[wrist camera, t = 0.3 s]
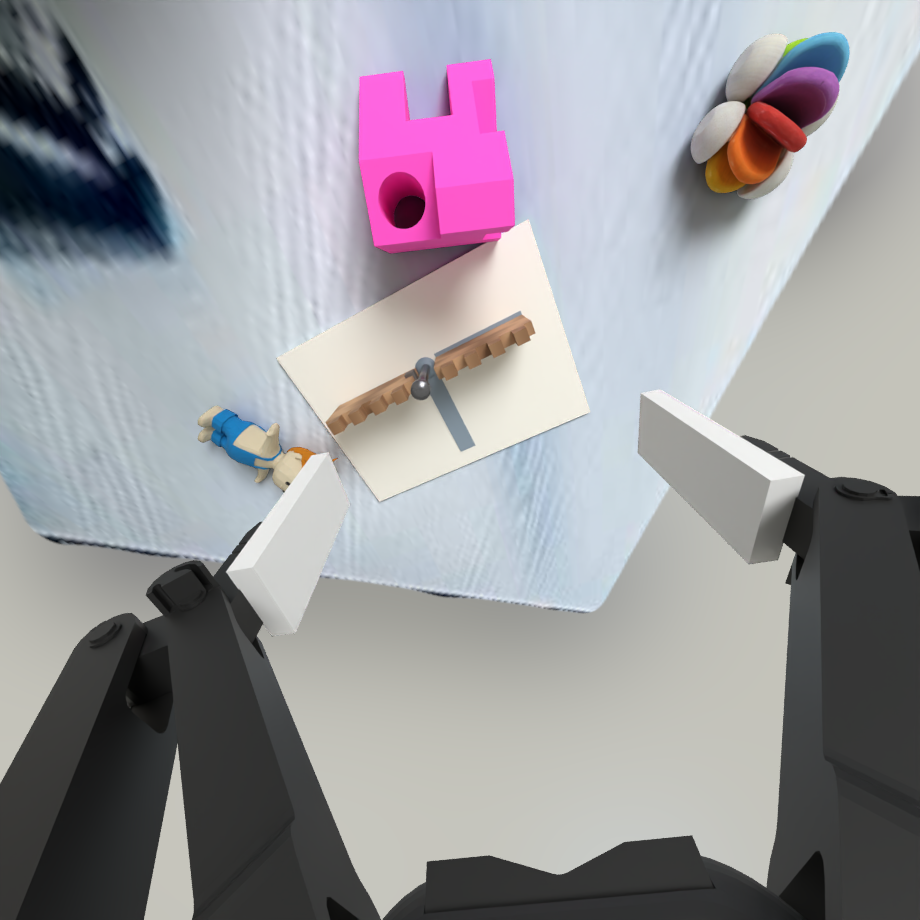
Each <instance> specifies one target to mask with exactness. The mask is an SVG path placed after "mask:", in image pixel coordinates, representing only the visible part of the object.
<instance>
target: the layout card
mask: <svg viewBox="0 0 920 920" xmlns="http://www.w3.org/2000/svg"><path fill="white" fill-rule="evenodd" d="M520 315H523V316H525V317H526V318H528V319H529V320H531V322H532V324H533V327H534V330H535V334H533V335H531V336H530V339H531V341H529V342H526V343H524V344H522V345H520V346H518V345H517V344H516V343H515V344H513V345H510V346H508V347H506V348H504V349H505V351H506V353H504V354H502V355H499V356H497V357H495V358H493V356H492V355H490V356H488V357H486V358H484V359H481V363H482V364H481V365H479V366H477V367H475V368H472V369H469V367H468V366H467V367H465V368H463V369H461V370H459V371H458V376H456V377H454V378H452V379H450V380H447V381H446V379H445V377H444V378H442V379H440V380H439V378H438V376H437V374H436V372H435V370H434V364H435V358H436V357H437V356H439V355H441V354H443V353H445V352H447V351H449V350H451V349H453V348H455V347H458V346H460V345H462V344H464V343H466V342H468V341H470V340H472V339H474V338H476V337H478V336H480V335H482V334H484V333H486V332H488V331H490V330H492V329H494V328H496V327H498V326H500V325H502V324H504V323H506V322H508V321H510V320H512V319H514V318H516V317H518V316H520ZM276 359H277V360H278V361H279V363H280V364H281V366H282V367H283V368H284V370H285V371H286V373H287V374H288V375H289V377H290V378H291V379H292V381H293V382H294V384H295V385H296V386H297V388H298V389H299V391H300V392H301V393H302V395H303V396H304V398H305V399H306V400H307V402H308V403H309V404H310V406H311V407H312V409H313V410H314V411H315V413H316V414H317V416H318V417H319V418H320V420H321V421H322V423H323V424H324V425H325V427H326V428H327V429H328V431H329V432H330V434H331V435H332V436H333V438H334V439H335V441H336V442H337V443H338V445H339V446H340V448H341V449H342V450H343V452H344V453H345V454H346V456H347V457H348V459H349V460H350V461H351V463H352V464H353V466H354V467H355V468H356V470H357V471H358V473H359V474H360V475H361V477H362V478H363V480H364V481H365V482H366V484H367V485H368V486H369V488H370V489H371V491H372V492H373V493H374V495H375V496H376V498H377V499H378V500H379V502H380V501H382V500H385V499H387V498H390V497H392V496H394V495H397V494H399V493H401V492H404V491H406V490H408V489H411V488H413V487H415V486H418V485H420V484H422V483H425V482H427V481H429V480H432V479H434V478H436V477H439V476H441V475H443V474H446V473H448V472H451V471H453V470H455V469H458V468H460V467H462V466H465V465H467V464H469V463H472V462H474V461H476V460H479V459H481V458H483V457H486V456H488V455H490V454H493V453H495V452H497V451H500V450H502V449H504V448H507V447H509V446H511V445H514V444H516V443H519V442H521V441H523V440H526V439H528V438H530V437H533V436H535V435H537V434H540V433H542V432H544V431H547V430H549V429H551V428H554V427H556V426H558V425H561V424H563V423H565V422H568V421H570V420H572V419H575V418H577V417H580V416H582V415H584V414H587V413H589V412H590V409H589V406H588V403H587V400H586V397H585V394H584V390H583V387H582V384H581V381H580V378H579V375H578V372H577V369H576V366H575V362H574V359H573V356H572V353H571V350H570V347H569V344H568V341H567V337H566V334H565V331H564V328H563V325H562V322H561V319H560V316H559V312H558V309H557V306H556V303H555V300H554V297H553V294H552V291H551V287H550V284H549V281H548V278H547V275H546V272H545V269H544V266H543V263H542V259H541V256H540V253H539V250H538V247H537V244H536V241H535V238H534V234H533V231H532V228H531V225H530V222H529V219H528V220H526V221H524V222H523V223H521V224H519V225H517V226H515V227H514V228H512V229H510V230H509V231H508V232H504V233H503V234H501V239H499V240H498V241H492V242H486V243H484V244H483V245H481V246H479V247H477V248H475V249H474V250H472V251H470V252H468V253H466V254H464V255H463V256H461V257H459V258H457V259H455V260H454V261H452V262H450V263H448V264H446V265H444V266H443V267H441V268H439V269H437V270H435V271H434V272H432V273H430V274H428V275H426V276H425V277H423V278H421V279H419V280H417V281H415V282H414V283H412V284H410V285H408V286H406V287H405V288H403V289H401V290H399V291H397V292H395V293H394V294H392V295H390V296H388V297H386V298H385V299H383V300H381V301H379V302H377V303H375V304H374V305H372V306H370V307H368V308H366V309H365V310H363V311H361V312H359V313H357V314H355V315H354V316H352V317H350V318H348V319H346V320H345V321H343V322H341V323H339V324H337V325H335V326H334V327H332V328H330V329H328V330H326V331H325V332H323V333H321V334H319V335H317V336H315V337H314V338H312V339H310V340H308V341H306V342H305V343H303V344H301V345H299V346H297V347H295V348H294V349H292V350H290V351H288V352H286V353H285V354H283V355H281V356H279V357H277V358H276ZM424 364H428V365H429V366H430V368H431V370H430V374H429V379H428V383H429V384H430V387H431V392H430V395H429V397H428V398H427V399H425V400H417V399H415V398H414V397H413V396H412V394H410V395H409V398H408V400H407V401H405V402H403V403H401V404H399V405H396V403H395V402H394V403H392V404H390V405H388V408H387V410H386V411H384V412H382V413H380V414H378V415H376V416H375V414H374V413H371V414H369V415H368V416H367V418H366V420H365V421H363V422H361V423H359V424H357V425H355V426H354V424H353V423H350V424H348V426H347V427H346V429H345V430H344V431H343V432H341V433H338V434H336V435H333V433H332V432H331V430H330V429H329V428H328V426H327V424H326V423H325V422H326V421H327V420H328V419H329V417H330V416H331V415H332V414H333V412H334V411H335V410H336V409H337V407H338V406H340V405H342V404H344V403H346V402H348V401H350V400H352V399H354V398H356V397H358V396H360V395H362V394H364V393H366V392H368V391H370V390H372V389H374V388H376V387H378V386H380V385H382V384H384V383H386V382H388V381H390V380H392V379H394V378H396V377H398V376H400V375H402V374H404V373H406V372H408V371H410V370H412V369H414V368H416V370H417V372H418V374H420V371H421V368H422V365H424Z"/></svg>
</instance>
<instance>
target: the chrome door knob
mask: <svg viewBox="0 0 920 920" xmlns="http://www.w3.org/2000/svg"><path fill="white" fill-rule="evenodd" d="M430 370H431V368H430V366H429V365H428V364H424V365H422V368H421V371H420V374H419V378H418V380H415V381H414V382H413V383H412V386H411V390H410V391H411V394H412V396H413V397H414V398H415V399H417V400H425V399H427V398H428V397H429V395H430V392H431V387H430V384H429V383H428V379H429V374H430Z"/></svg>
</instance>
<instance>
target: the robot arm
mask: <svg viewBox="0 0 920 920" xmlns="http://www.w3.org/2000/svg"><path fill="white" fill-rule="evenodd" d="M638 454H639V455H640V456H641V457H642V458H643V459H644V460H645V461H646V462H647V463H648V464H649V465H650V466H651V467H652V468H653V469H654V470H655V471H656V472H657V473H658V474H659V475H660V476H661V477H662V478H663V479H664V480H665V481H666V482H667V483H668V484H669V485H670V486H671V487H672V488H673V489H674V490H675V491H676V492H677V493H678V494H679V495H680V496H681V497H682V498H683V499H684V500H685V501H686V502H687V503H688V504H689V505H690V506H691V507H692V508H693V509H694V510H695V511H696V512H697V513H698V514H699V515H700V516H701V517H702V518H703V519H704V520H705V521H706V522H707V523H708V524H709V525H710V526H711V527H712V528H713V529H714V530H715V531H716V532H717V533H718V534H719V535H720V536H721V537H722V538H723V539H724V540H725V541H726V542H727V543H728V544H729V545H730V546H731V547H732V548H733V549H734V550H735V551H736V552H737V553H738V554H739V555H740V556H741V557H742V558H743V559H744V560H745V561H746V562H747V563H748V564H754V563H761V562H768V561H774V560H778V558H779V555H780V552H781V549H782V546H783V543H785V544H786V545H787V546H789V547H790V548H791V549H792V550H793V551H794V552H796V554H795V557H794V560H793V563H792V566H791V569H790V571H789V574H788V577H787V580H786V584H789V585H791V595H790V613H789V631H788V648H787V664H786V682H785V699H784V716H783V734H782V751H781V752H782V753H781V769H780V785H779V787H780V788H779V804H778V820H777V821H778V822H777V831H776V837H775V842H774V846H773V850H772V854H771V858H770V865H769V871H768V879H767V888H766V887H764V886H763V885H761V884H759V883H758V882H757V881H755V880H754V879H752V878H750V877H749V876H747V875H745V874H743V873H741V872H739V871H737V870H736V869H734V868H732V867H730V866H727V865H725V864H723V863H720V862H718V861H715V860H713V859H710V858H707V857H703V856H700V853H699V851H698V848H697V846H696V844H695V841H694V839H693V837H692V836H682V837H672V838H662V839H652V840H641V841H631V842H624V843H622V844H620V845H618V846H616V847H614V848H613V849H611V850H609V851H607V852H605V853H604V854H601V855H600V856H598V857H596V858H594V859H592V860H590V861H588V862H586V863H584V864H583V865H581V866H579V867H577V868H575V869H573V870H571V871H569V872H568V873H565V874H562V875H556V874H551V873H548V872H545V871H541V870H537V869H534V868H531V867H527V866H524V865H520V864H517V863H513V862H510V861H506V860H503V859H500V858H496V857H493V856H480V857H469V858H459V859H449V860H439V861H429V862H427V872H426V882H425V883H423V884H422V885H419V886H418V887H417V888H415V889H414V890H413V891H412V892H410V893H409V894H407V895H406V896H404V897H403V898H402V899H401V900H400V901H399V902H398V903H397V904H396V905H395V906H394V907H393V908H392V909H391V910H390V911H389V912H388V914H387V915H386V916H385V917H384V918H383V920H920V496H897V494H896V493H895V492H893V491H892V490H890V489H888V488H887V487H885V486H882V485H880V484H877V483H874V482H871V481H867V480H862V479H857V478H846V477H837V478H829V477H827V476H825V475H823V474H822V473H820V472H818V471H816V470H815V469H813V468H811V467H809V466H807V465H806V464H804V463H802V462H800V461H798V460H797V459H795V458H790V455H788V454H786V453H784V452H782V451H778V449H777V448H775V447H774V446H772V445H770V444H768V443H766V442H765V441H762V440H758V439H755V438H752V437H749V436H746V435H745V436H738V435H736V434H735V433H733V432H731V431H729V430H728V429H726V428H724V427H722V426H721V425H719V424H718V423H716V422H714V421H713V420H711V419H709V418H708V417H706V416H704V415H703V414H701V413H699V412H697V411H696V410H694V409H692V408H691V407H689V406H687V405H686V404H684V403H682V402H681V401H679V400H677V399H676V398H674V397H672V396H670V395H669V394H667V393H665V392H664V391H662V390H655V391H649V392H644V393H641V399H640V418H639V438H638ZM349 506H350V502H349V500H348V497H347V495H346V492H345V490H344V488H343V485H342V483H341V481H340V478H339V476H338V473H337V471H336V469H335V466H334V464H333V462H332V459H331V457H330V454H329V452H327V453H322V454H316V455H311V457H310V458H309V460H308V461H307V462H306V464H305V465H304V466H303V468H302V469H301V470H300V472H299V473H298V475H297V476H296V477H295V479H294V480H293V481H292V483H291V484H290V485H289V487H288V488H287V489H286V491H285V492H284V494H283V495H282V496H281V498H280V499H279V500H278V502H277V503H276V504H275V506H274V507H273V508H272V510H271V511H270V513H269V514H268V515H267V517H266V518H265V519H264V521H263V522H259V523H258V524H257V525H256V526H254V527H253V528H252V529H251V530H250V531H248V532H247V533H246V535H245V536H244V537H243V539H242V540H241V541H240V542H239V545H237V546H236V548H235V549H234V550H233V552H232V554H230V556H229V557H228V558H227V560H226V561H225V562H224V563H223V565H222V566H221V567H220V569H219V570H218V571H217V573H216V574H215V575H214V577H213V576H212V575H211V574H210V572H209V571H208V569H207V568H206V567H205V565H204V564H203V563H202V562H201V561H194V560H193V561H189V562H185V563H183V564H180V565H178V566H176V567H174V568H172V569H171V570H169V571H167V572H165V573H164V574H163V575H161V576H160V577H159V578H158V579H156V580H155V581H154V582H153V584H152V585H151V586H150V587H149V588H148V590H147V593H146V596H147V597H148V598H149V599H150V601H151V602H152V603H153V604H154V605H155V606H156V607H157V608H158V609H159V611H160V612H161V613H162V614H163V616H160V617H158V618H155V619H152V620H150V621H147V622H145V623H142V622H140V620H139V619H138V618H137V617H136V616H135V615H133V614H132V613H125V614H121V615H118V616H116V617H113V618H111V619H109V620H107V621H104V622H102V623H101V624H99V625H98V626H97V627H95V628H93V629H92V630H91V631H90V632H89V633H88V634H87V635H86V636H85V637H84V638H83V639H81V641H80V642H79V643H78V644H77V646H76V647H75V648H74V650H73V652H72V654H71V656H70V657H69V659H68V661H67V663H66V665H65V667H64V668H63V670H62V672H61V674H60V676H59V678H58V679H57V681H56V683H55V685H54V687H53V688H52V690H51V692H50V694H49V696H48V698H47V699H46V701H45V703H44V705H43V707H42V709H41V711H40V712H39V714H38V716H37V718H36V720H35V721H34V723H33V725H32V727H31V729H30V731H29V733H28V734H27V736H26V738H25V740H24V742H23V744H22V745H21V747H20V749H19V751H18V752H17V754H16V756H15V758H14V760H13V762H12V764H11V765H10V767H9V769H8V771H7V773H6V775H5V776H4V778H3V780H2V782H1V783H0V920H144V916H145V911H146V905H147V900H148V895H149V889H150V884H151V879H152V874H153V869H154V863H155V858H156V852H157V847H158V842H159V837H160V832H161V827H162V822H163V816H164V811H165V806H166V801H167V795H168V790H169V785H170V779H171V774H172V769H173V764H174V759H175V754H176V748H177V743H178V751H179V760H180V770H181V780H182V789H183V799H184V810H185V819H186V829H187V839H188V849H189V858H190V869H191V878H192V888H193V898H194V914H193V918H192V920H381V919H380V916H379V914H378V912H377V910H376V908H375V906H374V904H373V902H372V900H371V898H370V896H369V895H368V893H367V892H366V889H365V888H364V886H363V884H362V883H361V881H360V879H359V877H358V876H357V874H356V872H355V869H354V867H353V865H352V863H351V860H350V858H349V855H348V853H347V850H346V848H345V846H344V843H343V841H342V838H341V836H340V833H339V831H338V828H337V826H336V823H335V821H334V819H333V816H332V814H331V811H330V809H329V806H328V804H327V801H326V799H325V797H324V794H323V792H322V789H321V787H320V784H319V782H318V780H317V777H316V775H315V772H314V770H313V767H312V765H311V763H310V760H309V758H308V755H307V753H306V750H305V748H304V745H303V743H302V741H301V738H300V735H299V733H298V731H297V728H296V726H295V723H294V721H293V718H292V716H291V714H290V711H289V709H288V706H287V704H286V701H285V699H284V696H283V694H282V691H281V689H280V687H279V684H278V682H277V679H276V677H275V674H274V672H273V669H272V667H271V665H270V662H269V659H268V657H267V655H266V652H265V650H264V648H263V645H262V643H261V641H260V640H259V639H258V637H257V634H258V632H259V630H260V628H261V626H262V624H263V625H264V626H265V628H266V629H267V631H268V632H269V633H270V635H271V636H279V635H285V634H292V633H296V631H297V628H298V626H299V624H300V621H301V619H302V616H303V614H304V612H305V610H306V607H307V605H308V602H309V600H310V598H311V595H312V593H313V590H314V588H315V586H316V584H317V581H318V579H319V577H320V574H321V572H322V569H323V567H324V565H325V562H326V560H327V558H328V555H329V553H330V551H331V548H332V546H333V543H334V541H335V539H336V536H337V534H338V532H339V529H340V527H341V525H342V522H343V520H344V518H345V515H346V513H347V510H348V508H349Z"/></svg>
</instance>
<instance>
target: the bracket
mask: <svg viewBox="0 0 920 920" xmlns="http://www.w3.org/2000/svg"><path fill="white" fill-rule="evenodd" d="M447 78H448V90H449V101H450V113H451V115H448V116H440V117H433V118H425V119H417V120H410V118H409V110H408V102H407V94H406V86H405V78H404V73H403V71H399V72H392V73H384V74H377V75H370V76H362V77H360V91H359V164H360V170H361V175H362V181H363V186H364V192H365V197H366V203H367V208H368V214H369V219H370V225H371V230H372V236H373V241H374V246H375V247H377V248H379V249H381V250H384V251H386V252H388V253H390V254H391V253H399V252H408V251H416V250H425V249H433V248H442V247H450V246H459V245H467V244H475V243H484V242H492V241H498V240H499V239H501V232H508V231H509V230H510V229H511V228H513V227H514V226H515V215H514V180H513V174H512V169H511V163H510V158H509V153H508V147H507V142H506V137H505V132H504V131H498V132H497V128H496V105H495V82H494V74H493V69H492V63H491V59H489V60H481V61H474V62H466V63H459V64H451V65H447ZM410 195H411V196H417V197H420V198H421V199H422V200H424V201H425V210H424V214H423V216H422V218H421V220H420V221H419V222H418V223H417V224H416V225H415V226H413V227H411V228H408V229H399V228H397V227H396V225H395V221H394V212H395V208H396V206H397V204H398V202H399V201H400V200H401V199H402V198H404V197H406V196H410Z"/></svg>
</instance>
